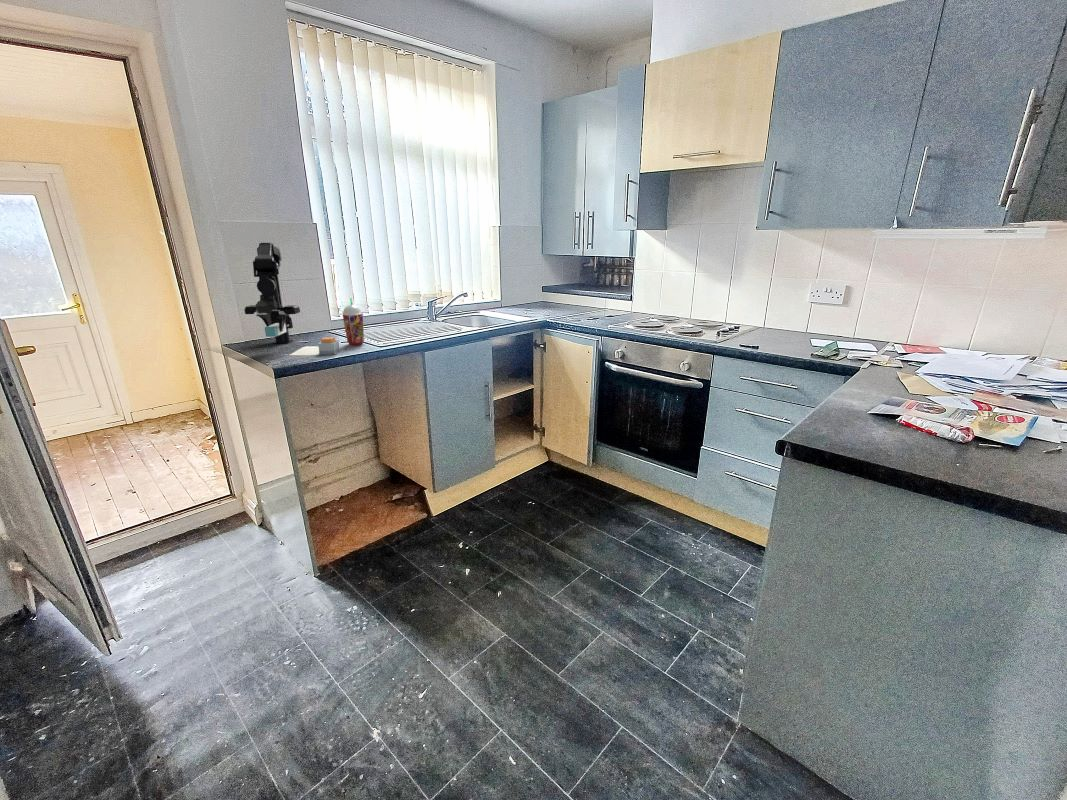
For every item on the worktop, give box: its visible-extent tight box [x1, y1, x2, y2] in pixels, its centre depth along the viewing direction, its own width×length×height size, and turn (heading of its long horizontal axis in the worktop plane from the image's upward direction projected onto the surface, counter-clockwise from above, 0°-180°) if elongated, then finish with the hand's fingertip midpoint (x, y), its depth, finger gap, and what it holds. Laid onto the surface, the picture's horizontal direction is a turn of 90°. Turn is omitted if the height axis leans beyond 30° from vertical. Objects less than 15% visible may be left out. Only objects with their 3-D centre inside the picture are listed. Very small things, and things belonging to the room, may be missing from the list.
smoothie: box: [342, 297, 365, 347], centre depth 201 cm, size 8×8×20 cm
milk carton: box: [264, 323, 287, 338], centre depth 185 cm, size 10×4×4 cm, turn 5°
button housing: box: [317, 339, 341, 356], centre depth 188 cm, size 6×6×4 cm
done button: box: [320, 336, 336, 343], centre depth 187 cm, size 4×4×3 cm
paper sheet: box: [289, 345, 320, 356], centre depth 191 cm, size 16×11×1 cm
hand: (276, 331), depth 185 cm, fingers closed on milk carton, 4 cm apart
